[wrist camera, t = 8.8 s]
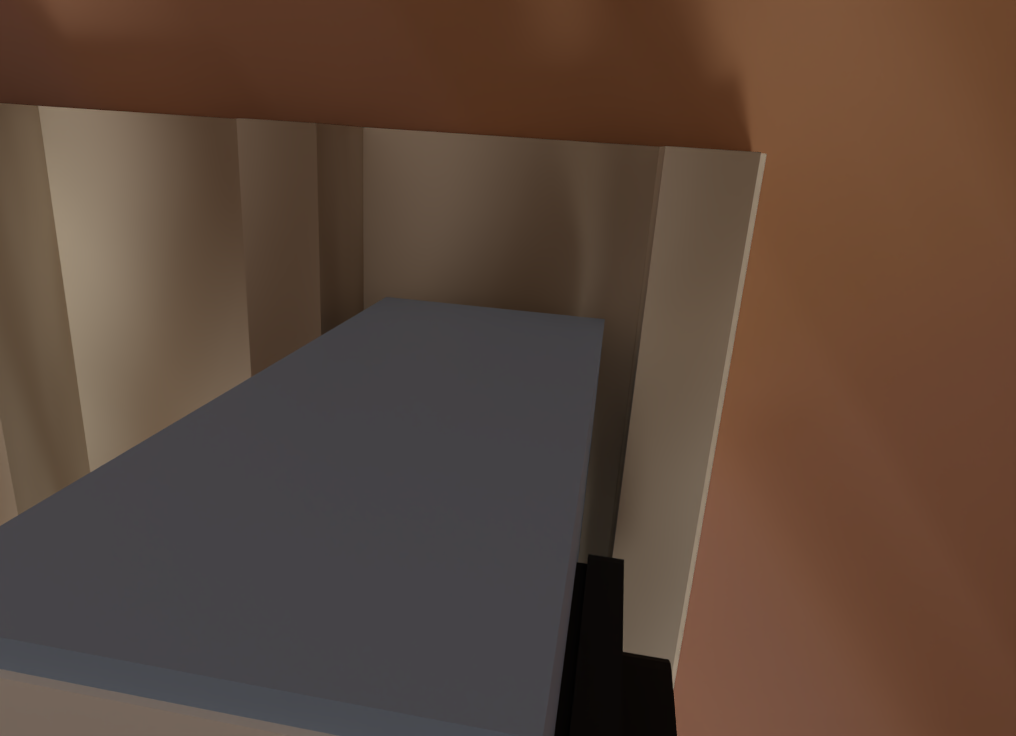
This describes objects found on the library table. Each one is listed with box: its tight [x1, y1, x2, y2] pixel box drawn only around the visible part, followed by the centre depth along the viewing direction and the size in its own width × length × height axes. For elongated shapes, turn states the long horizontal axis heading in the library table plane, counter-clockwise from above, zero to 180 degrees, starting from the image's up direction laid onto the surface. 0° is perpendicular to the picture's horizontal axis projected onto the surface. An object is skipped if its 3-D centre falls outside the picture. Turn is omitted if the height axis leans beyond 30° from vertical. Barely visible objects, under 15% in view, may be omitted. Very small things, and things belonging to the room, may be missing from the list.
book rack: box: [0, 103, 767, 689], centre depth 11 cm, size 20×14×9 cm
